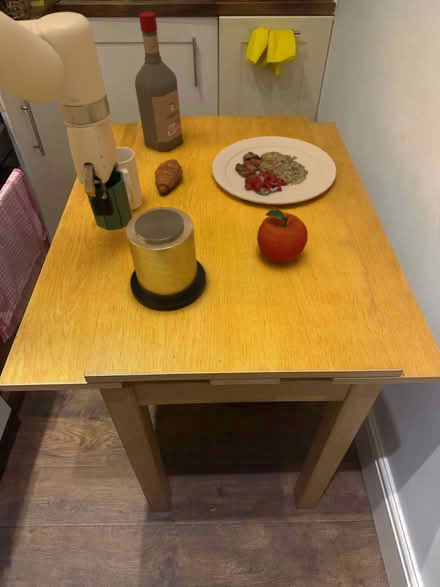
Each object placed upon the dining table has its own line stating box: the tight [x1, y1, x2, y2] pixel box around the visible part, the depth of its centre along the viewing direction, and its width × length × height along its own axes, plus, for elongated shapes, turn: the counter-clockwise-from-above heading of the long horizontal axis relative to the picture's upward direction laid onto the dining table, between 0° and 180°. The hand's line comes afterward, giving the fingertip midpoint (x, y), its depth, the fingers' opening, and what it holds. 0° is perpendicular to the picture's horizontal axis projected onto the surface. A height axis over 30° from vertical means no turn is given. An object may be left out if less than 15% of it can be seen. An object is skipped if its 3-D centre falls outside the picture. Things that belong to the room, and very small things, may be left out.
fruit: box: [256, 208, 309, 264], centre depth 77 cm, size 10×10×10 cm
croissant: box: [154, 158, 183, 196], centre depth 97 cm, size 14×7×5 cm, turn 172°
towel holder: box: [125, 206, 207, 312], centre depth 71 cm, size 14×14×14 cm
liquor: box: [134, 11, 183, 153], centre depth 101 cm, size 9×9×30 cm
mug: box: [116, 146, 143, 211], centre depth 88 cm, size 10×7×12 cm, turn 23°
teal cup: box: [86, 169, 134, 231], centre depth 77 cm, size 7×7×9 cm
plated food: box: [211, 135, 337, 205], centre depth 99 cm, size 30×30×3 cm
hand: (110, 200), depth 77 cm, fingers closed on teal cup, 7 cm apart
